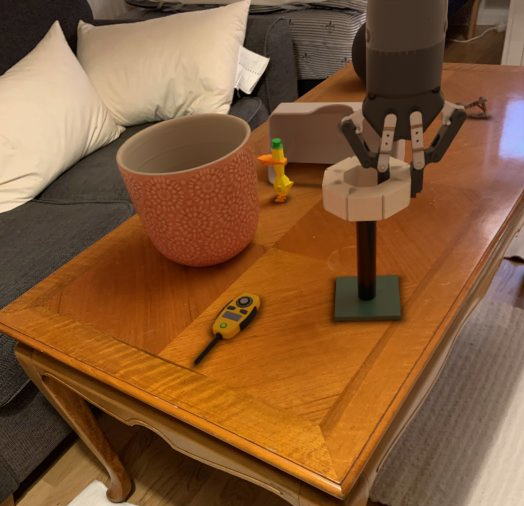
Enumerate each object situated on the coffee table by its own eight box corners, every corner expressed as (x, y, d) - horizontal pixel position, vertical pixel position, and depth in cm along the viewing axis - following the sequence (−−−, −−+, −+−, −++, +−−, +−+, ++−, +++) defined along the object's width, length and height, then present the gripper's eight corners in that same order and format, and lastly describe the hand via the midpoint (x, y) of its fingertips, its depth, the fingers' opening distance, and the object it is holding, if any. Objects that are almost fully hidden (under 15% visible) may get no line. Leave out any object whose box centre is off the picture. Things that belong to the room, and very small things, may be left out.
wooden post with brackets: (490, 117, 108) (484, 96, 106) (455, 128, 114) (449, 107, 112) (494, 114, 109) (488, 92, 107) (459, 124, 115) (453, 104, 113)
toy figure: (260, 204, 99) (250, 143, 91) (268, 194, 101) (259, 134, 93) (292, 208, 96) (285, 145, 88) (300, 198, 99) (293, 136, 90)
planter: (193, 208, 102) (166, 110, 88) (288, 222, 93) (274, 115, 80) (129, 271, 90) (87, 167, 76) (231, 293, 81) (204, 181, 68)
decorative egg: (405, 74, 134) (408, 7, 124) (396, 93, 127) (398, 23, 116) (358, 76, 139) (357, 11, 128) (346, 94, 131) (344, 27, 120)
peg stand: (397, 281, 77) (401, 187, 67) (400, 322, 71) (405, 226, 61) (336, 283, 79) (331, 192, 68) (334, 323, 73) (328, 230, 62)
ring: (390, 168, 68) (391, 146, 65) (427, 208, 60) (429, 184, 58) (311, 188, 67) (309, 167, 65) (338, 231, 59) (337, 208, 57)
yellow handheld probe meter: (265, 295, 77) (206, 363, 68) (267, 305, 78) (210, 372, 70) (239, 287, 79) (178, 352, 71) (241, 297, 80) (182, 362, 72)
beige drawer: (410, 151, 105) (414, 86, 96) (394, 192, 95) (396, 123, 86) (294, 148, 114) (287, 89, 105) (268, 185, 104) (258, 122, 95)
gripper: (475, 14, 52) (455, 176, 64) (334, 33, 54) (341, 184, 67) (487, 37, 47) (463, 208, 59) (331, 56, 49) (340, 216, 62)
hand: (398, 195), depth 63 cm, fingers closed on ring, 2 cm apart
